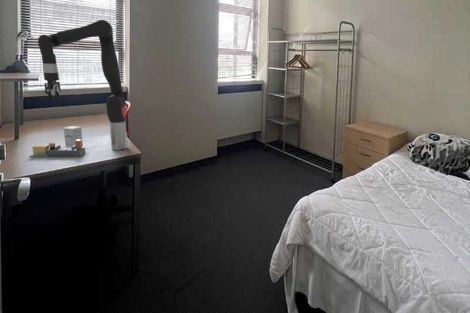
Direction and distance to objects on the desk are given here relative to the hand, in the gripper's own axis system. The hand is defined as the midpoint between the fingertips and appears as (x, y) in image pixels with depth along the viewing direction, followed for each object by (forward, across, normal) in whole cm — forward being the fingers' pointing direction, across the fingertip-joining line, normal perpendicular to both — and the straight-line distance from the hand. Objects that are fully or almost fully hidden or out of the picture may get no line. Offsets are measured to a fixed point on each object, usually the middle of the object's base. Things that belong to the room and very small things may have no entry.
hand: (54, 100), depth 195 cm
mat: (+30, -11, +6) cm, 33 cm away
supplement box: (+30, +8, -5) cm, 32 cm away
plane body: (+30, -11, -8) cm, 33 cm away
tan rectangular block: (+30, -11, +6) cm, 32 cm away
